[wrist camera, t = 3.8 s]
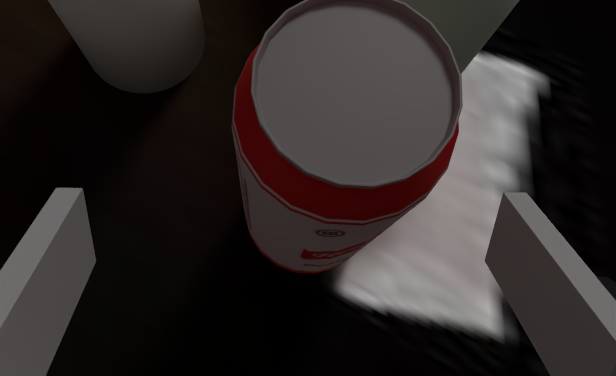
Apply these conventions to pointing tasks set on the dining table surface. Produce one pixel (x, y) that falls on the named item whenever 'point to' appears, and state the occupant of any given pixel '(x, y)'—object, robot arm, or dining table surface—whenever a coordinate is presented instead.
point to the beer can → (341, 127)
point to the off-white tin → (136, 39)
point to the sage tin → (464, 23)
